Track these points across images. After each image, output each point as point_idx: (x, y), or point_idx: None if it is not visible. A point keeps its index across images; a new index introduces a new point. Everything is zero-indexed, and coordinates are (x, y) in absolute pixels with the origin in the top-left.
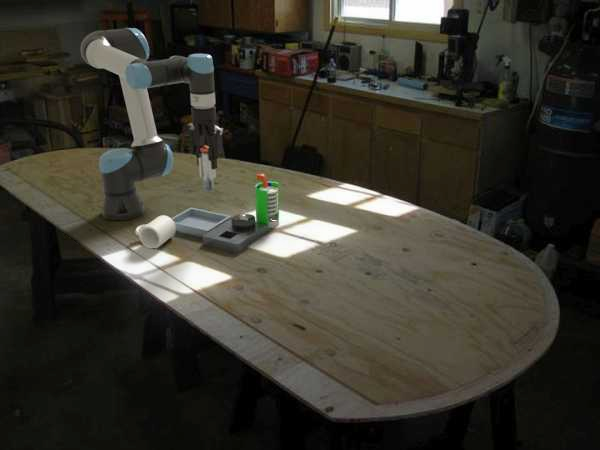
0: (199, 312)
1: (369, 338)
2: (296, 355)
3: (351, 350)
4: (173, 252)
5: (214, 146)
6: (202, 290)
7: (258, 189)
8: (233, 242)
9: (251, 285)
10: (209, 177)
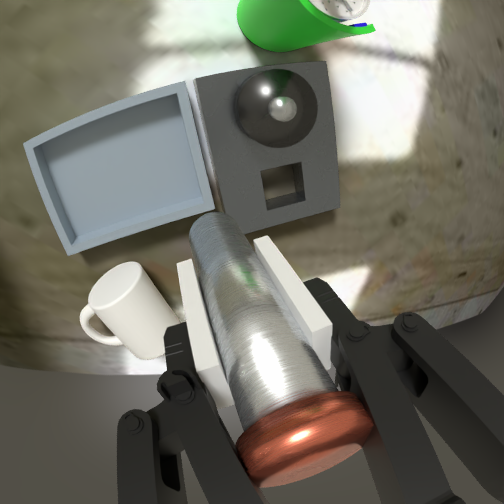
0: None
1: (500, 242)
2: (463, 299)
3: (491, 264)
4: None
5: (412, 422)
6: None
7: (340, 30)
8: (324, 208)
9: (402, 261)
10: None
